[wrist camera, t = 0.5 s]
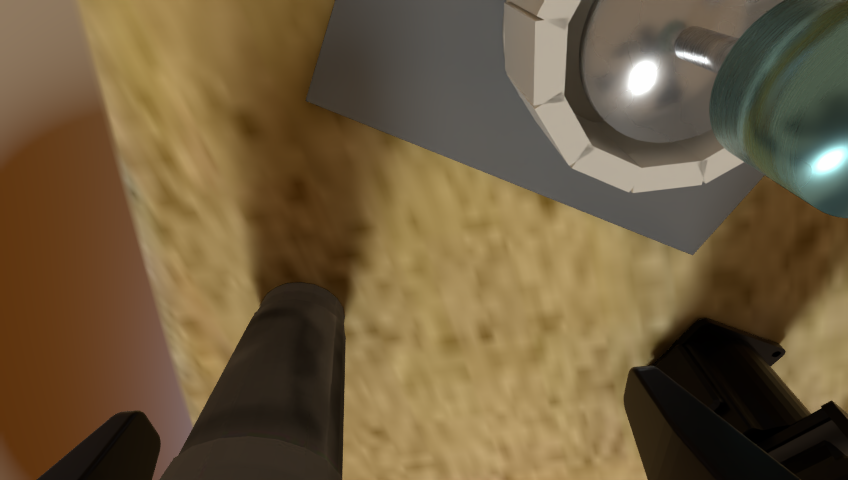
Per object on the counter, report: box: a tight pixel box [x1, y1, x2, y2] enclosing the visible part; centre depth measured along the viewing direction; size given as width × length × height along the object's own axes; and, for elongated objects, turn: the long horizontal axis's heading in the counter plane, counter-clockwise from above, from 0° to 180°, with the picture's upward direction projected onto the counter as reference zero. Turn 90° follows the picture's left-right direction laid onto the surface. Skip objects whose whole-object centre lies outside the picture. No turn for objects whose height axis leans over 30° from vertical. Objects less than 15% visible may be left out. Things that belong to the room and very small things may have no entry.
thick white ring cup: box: [502, 0, 744, 193], centre depth 15 cm, size 11×9×5 cm
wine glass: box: [579, 0, 848, 218], centre depth 11 cm, size 6×6×8 cm
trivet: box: [306, 0, 764, 255], centre depth 17 cm, size 20×15×1 cm
